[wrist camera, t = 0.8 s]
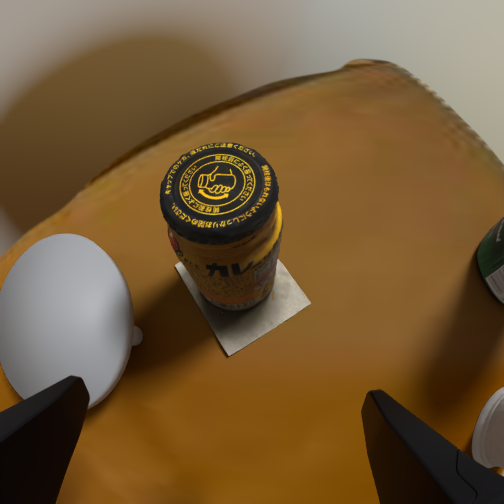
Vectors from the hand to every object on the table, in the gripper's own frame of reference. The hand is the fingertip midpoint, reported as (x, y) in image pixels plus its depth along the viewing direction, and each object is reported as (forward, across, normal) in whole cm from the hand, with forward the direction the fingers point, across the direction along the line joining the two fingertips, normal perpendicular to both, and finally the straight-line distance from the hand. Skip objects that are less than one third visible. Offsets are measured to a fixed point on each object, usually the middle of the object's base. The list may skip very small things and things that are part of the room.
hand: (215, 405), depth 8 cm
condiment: (+15, 0, +3) cm, 15 cm away
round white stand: (+12, +14, +6) cm, 20 cm away
